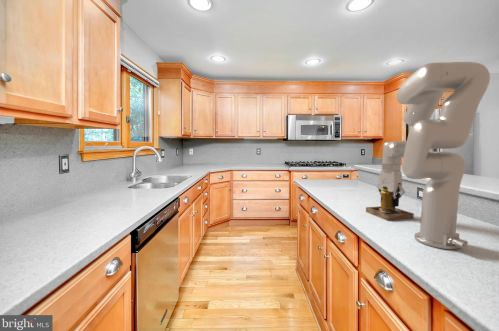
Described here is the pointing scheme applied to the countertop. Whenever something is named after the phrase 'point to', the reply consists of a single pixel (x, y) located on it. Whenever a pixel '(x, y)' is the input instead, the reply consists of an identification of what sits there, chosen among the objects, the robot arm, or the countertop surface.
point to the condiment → (387, 202)
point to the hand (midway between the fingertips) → (389, 204)
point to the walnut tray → (390, 214)
